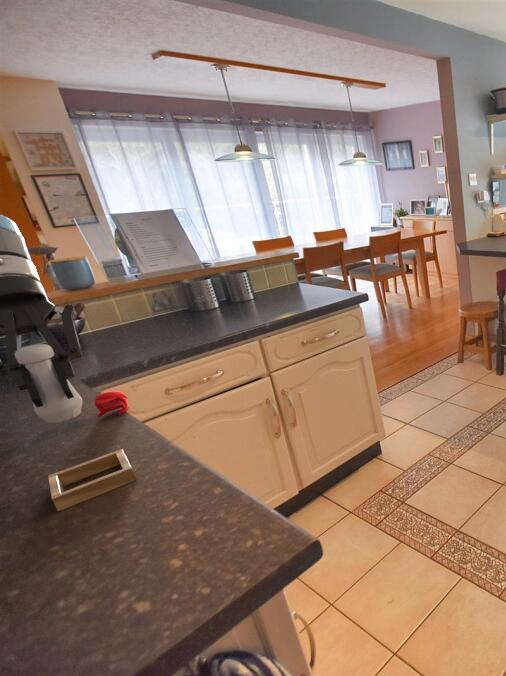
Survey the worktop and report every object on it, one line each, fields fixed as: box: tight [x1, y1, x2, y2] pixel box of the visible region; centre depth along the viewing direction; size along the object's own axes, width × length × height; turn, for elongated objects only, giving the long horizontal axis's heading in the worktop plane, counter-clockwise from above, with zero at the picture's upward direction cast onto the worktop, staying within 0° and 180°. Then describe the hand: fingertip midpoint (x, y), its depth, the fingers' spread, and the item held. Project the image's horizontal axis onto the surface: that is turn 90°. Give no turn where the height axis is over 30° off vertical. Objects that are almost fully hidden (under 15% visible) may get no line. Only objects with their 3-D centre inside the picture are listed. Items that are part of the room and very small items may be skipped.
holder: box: [47, 448, 138, 513], centre depth 77 cm, size 10×10×2 cm
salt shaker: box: [14, 343, 83, 424], centre depth 73 cm, size 6×6×13 cm
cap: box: [94, 390, 130, 418], centre depth 103 cm, size 8×6×6 cm
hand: (53, 398), depth 71 cm, fingers closed on salt shaker, 3 cm apart
